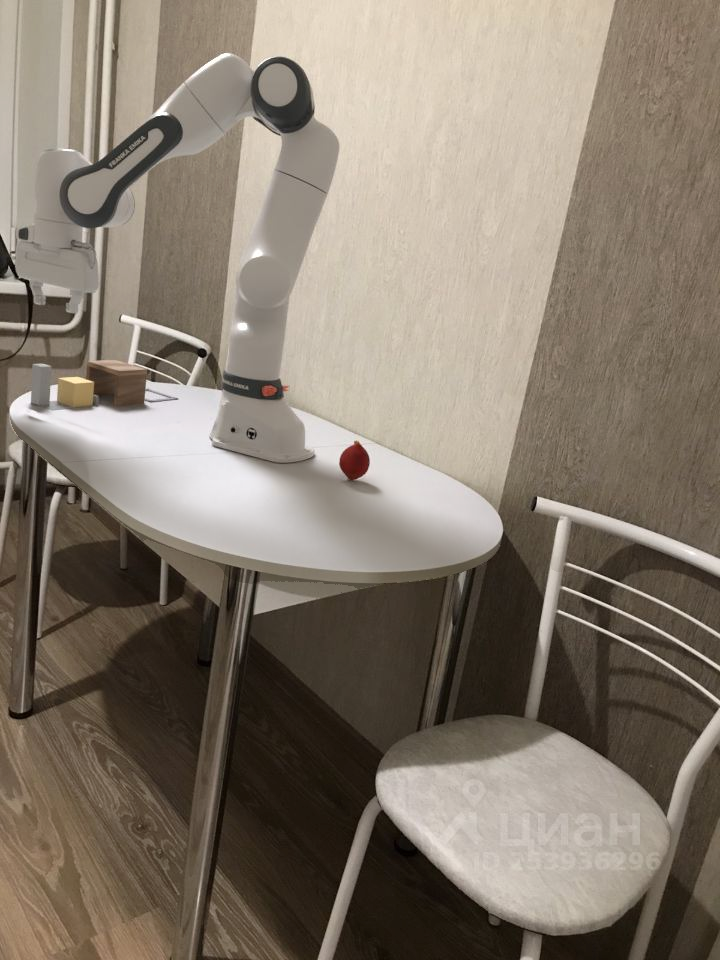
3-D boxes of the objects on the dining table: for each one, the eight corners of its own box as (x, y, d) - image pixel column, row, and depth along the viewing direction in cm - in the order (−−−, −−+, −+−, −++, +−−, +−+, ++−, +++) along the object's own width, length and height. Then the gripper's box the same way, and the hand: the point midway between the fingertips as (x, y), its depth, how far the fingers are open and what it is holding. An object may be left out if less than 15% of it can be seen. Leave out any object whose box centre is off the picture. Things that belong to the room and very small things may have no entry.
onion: (359, 476, 146) (366, 437, 144) (370, 486, 141) (378, 446, 139) (332, 474, 144) (339, 435, 141) (342, 484, 139) (349, 444, 136)
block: (92, 405, 157) (94, 382, 156) (73, 407, 153) (74, 383, 152) (76, 399, 160) (77, 376, 158) (56, 401, 155) (58, 378, 154)
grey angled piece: (110, 408, 161) (113, 367, 159) (51, 415, 148) (53, 371, 146) (90, 401, 164) (93, 361, 161) (30, 407, 151) (32, 364, 148)
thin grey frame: (177, 404, 177) (178, 398, 176) (150, 407, 169) (150, 401, 169) (147, 394, 181) (147, 388, 181) (119, 397, 173) (119, 391, 173)
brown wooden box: (143, 408, 167) (147, 369, 165) (116, 411, 161) (119, 371, 158) (112, 398, 172) (115, 359, 169) (84, 400, 165) (87, 361, 162)
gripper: (108, 246, 143) (104, 317, 147) (37, 232, 152) (35, 300, 156) (82, 243, 138) (79, 317, 142) (9, 228, 146) (8, 299, 150)
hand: (55, 308), depth 149 cm, fingers open, 8 cm apart
